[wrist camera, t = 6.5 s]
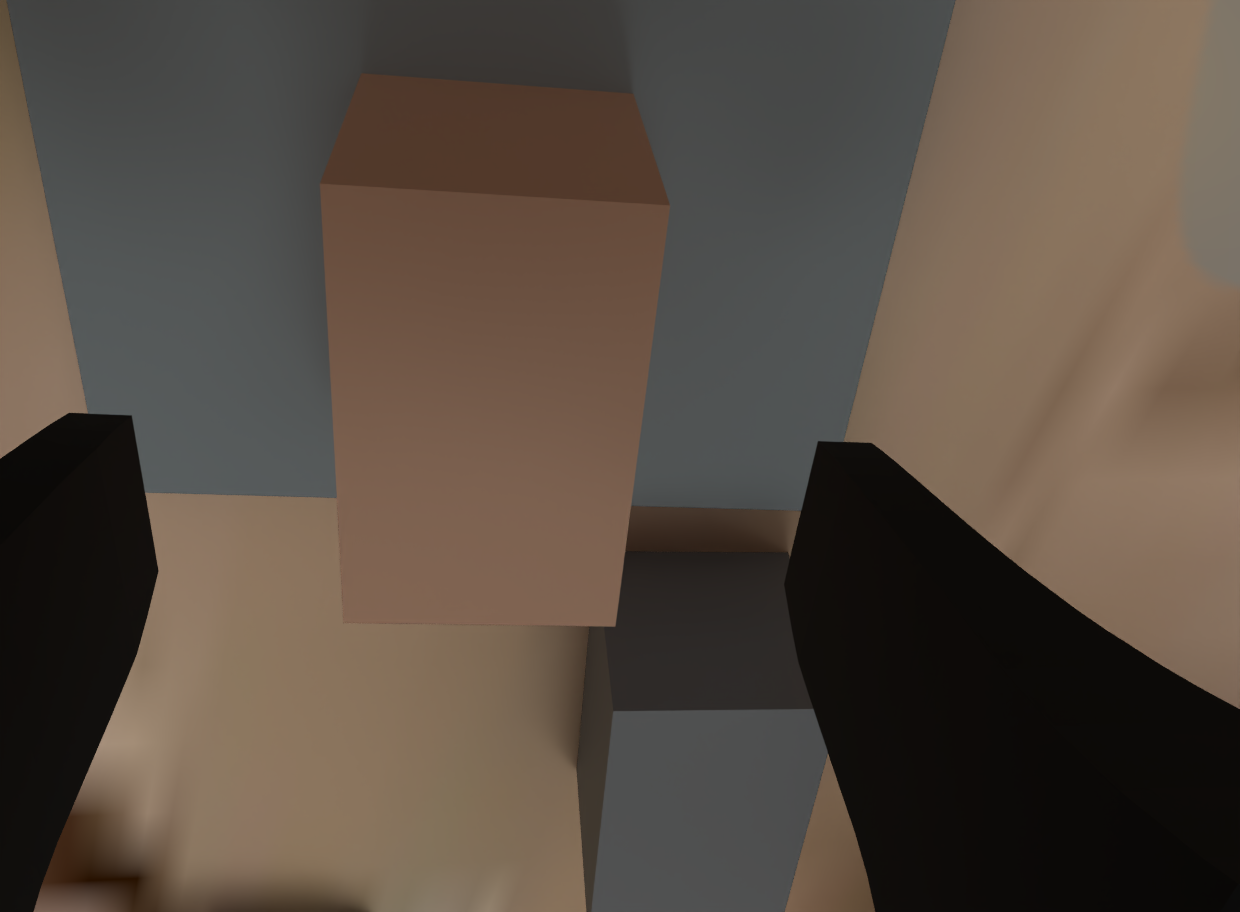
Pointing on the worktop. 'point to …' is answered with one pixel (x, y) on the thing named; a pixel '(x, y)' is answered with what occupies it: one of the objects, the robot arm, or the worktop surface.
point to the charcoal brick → (696, 739)
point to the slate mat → (491, 53)
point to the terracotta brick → (488, 347)
